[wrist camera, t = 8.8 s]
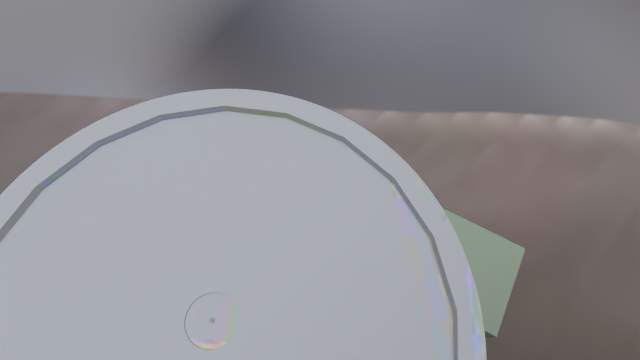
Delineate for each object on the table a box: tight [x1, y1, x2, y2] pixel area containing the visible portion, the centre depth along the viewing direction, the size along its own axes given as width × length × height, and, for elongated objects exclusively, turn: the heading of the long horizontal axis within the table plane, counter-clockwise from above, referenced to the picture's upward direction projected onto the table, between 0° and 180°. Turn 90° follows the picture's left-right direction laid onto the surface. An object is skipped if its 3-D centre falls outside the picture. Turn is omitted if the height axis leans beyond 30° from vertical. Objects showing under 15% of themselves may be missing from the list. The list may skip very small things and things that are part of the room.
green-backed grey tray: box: [442, 208, 525, 337], centre depth 19 cm, size 16×13×4 cm
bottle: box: [0, 89, 487, 360], centre depth 11 cm, size 7×7×15 cm
